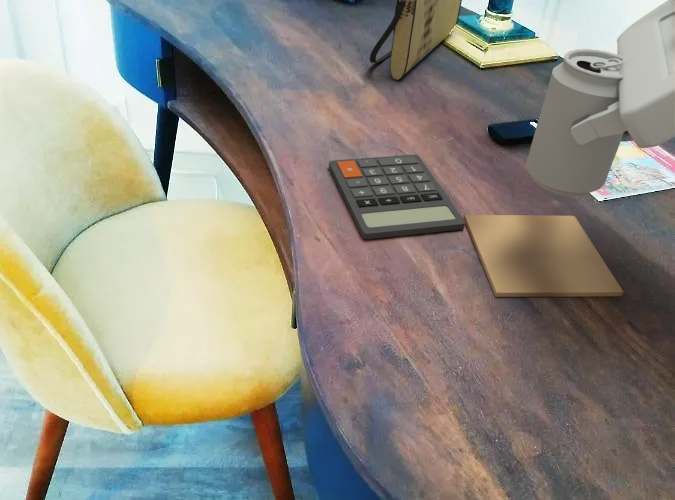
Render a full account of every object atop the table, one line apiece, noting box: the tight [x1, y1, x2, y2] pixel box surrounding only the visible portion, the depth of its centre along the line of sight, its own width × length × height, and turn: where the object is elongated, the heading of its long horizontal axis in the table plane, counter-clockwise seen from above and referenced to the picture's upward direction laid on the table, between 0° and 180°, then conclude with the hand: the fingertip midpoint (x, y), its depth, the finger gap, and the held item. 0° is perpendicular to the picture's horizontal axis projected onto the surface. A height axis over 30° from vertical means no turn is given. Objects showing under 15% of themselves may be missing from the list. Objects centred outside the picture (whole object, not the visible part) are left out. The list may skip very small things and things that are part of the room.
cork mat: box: [462, 214, 625, 298], centre depth 68 cm, size 13×13×1 cm
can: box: [525, 48, 625, 197], centre depth 59 cm, size 8×8×12 cm
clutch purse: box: [369, 0, 463, 81], centre depth 106 cm, size 30×7×15 cm, turn 154°
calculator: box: [328, 154, 466, 240], centre depth 75 cm, size 12×1×15 cm
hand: (576, 114), depth 59 cm, fingers closed on can, 7 cm apart
